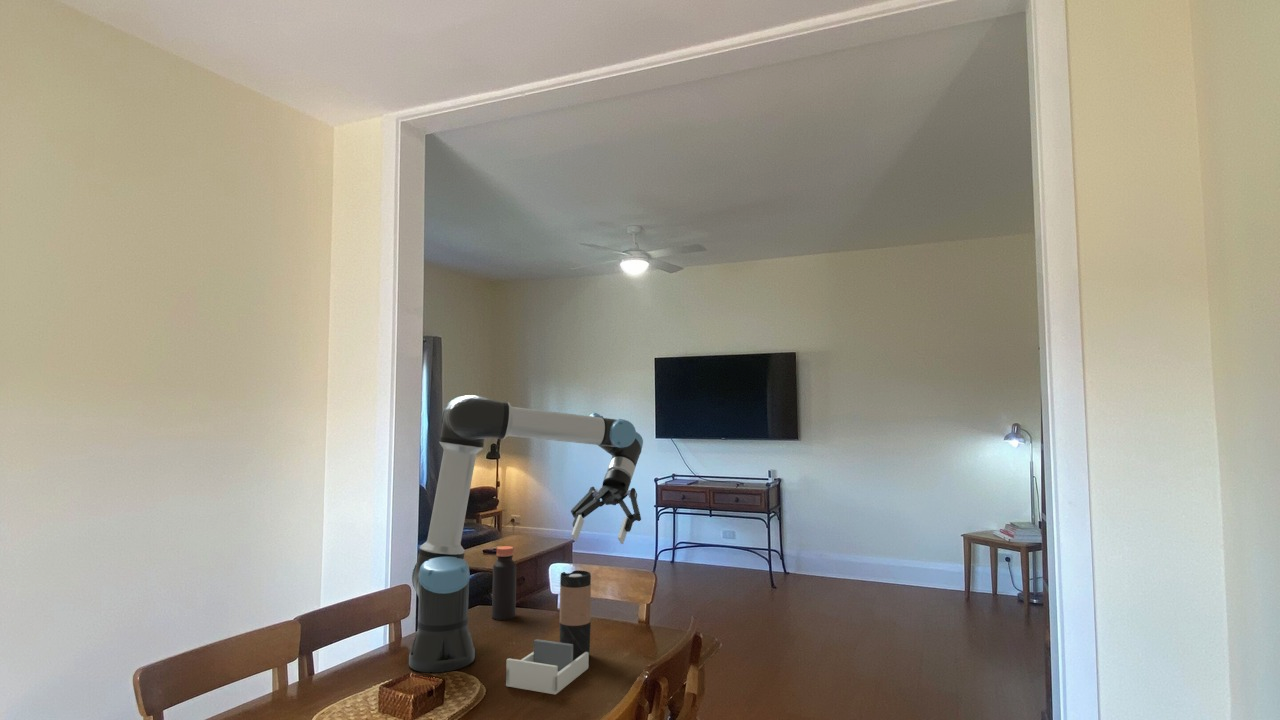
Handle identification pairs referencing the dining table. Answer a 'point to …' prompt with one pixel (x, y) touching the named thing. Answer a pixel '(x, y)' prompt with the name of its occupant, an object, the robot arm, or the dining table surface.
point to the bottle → (504, 585)
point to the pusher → (553, 653)
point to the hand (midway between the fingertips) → (596, 539)
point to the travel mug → (575, 610)
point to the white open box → (543, 674)
